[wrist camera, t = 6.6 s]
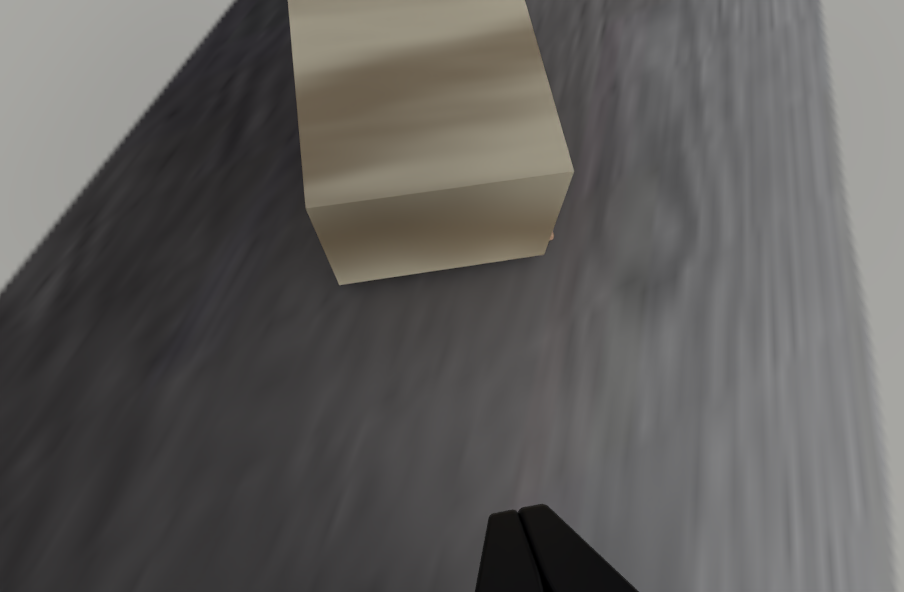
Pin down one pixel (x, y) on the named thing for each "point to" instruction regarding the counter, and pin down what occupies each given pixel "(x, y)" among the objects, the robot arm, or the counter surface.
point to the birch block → (425, 134)
